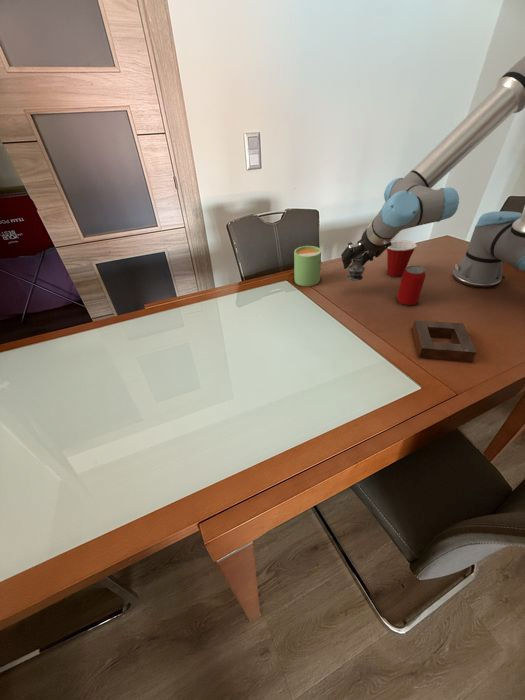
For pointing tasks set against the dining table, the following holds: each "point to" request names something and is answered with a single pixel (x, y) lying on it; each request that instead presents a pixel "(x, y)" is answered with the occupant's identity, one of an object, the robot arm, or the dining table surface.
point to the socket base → (444, 351)
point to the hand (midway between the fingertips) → (352, 264)
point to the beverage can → (411, 285)
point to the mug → (307, 265)
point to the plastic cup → (399, 257)
